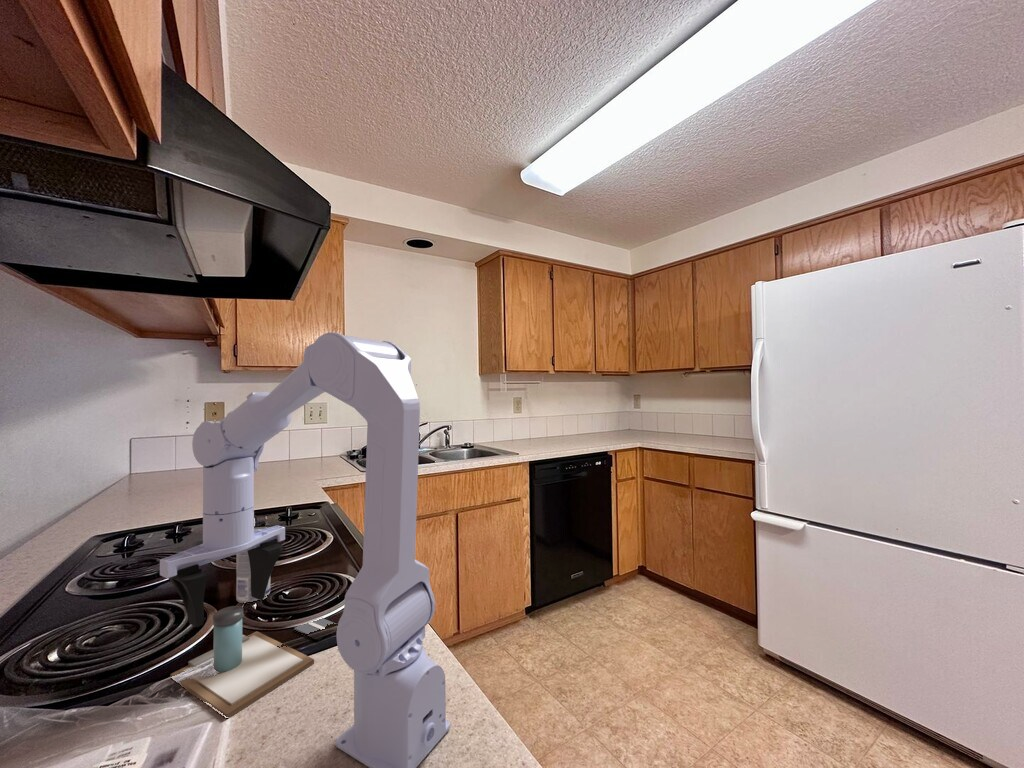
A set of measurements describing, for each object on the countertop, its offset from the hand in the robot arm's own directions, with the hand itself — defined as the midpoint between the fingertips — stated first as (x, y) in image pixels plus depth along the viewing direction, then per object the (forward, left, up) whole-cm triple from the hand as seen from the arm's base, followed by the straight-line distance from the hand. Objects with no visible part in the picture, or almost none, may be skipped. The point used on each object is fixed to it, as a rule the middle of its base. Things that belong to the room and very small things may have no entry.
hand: (228, 609), depth 55 cm
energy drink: (+18, -13, -8) cm, 24 cm away
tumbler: (0, 0, -7) cm, 7 cm away
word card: (-2, -12, -8) cm, 15 cm away
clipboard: (-2, -1, -8) cm, 8 cm away
